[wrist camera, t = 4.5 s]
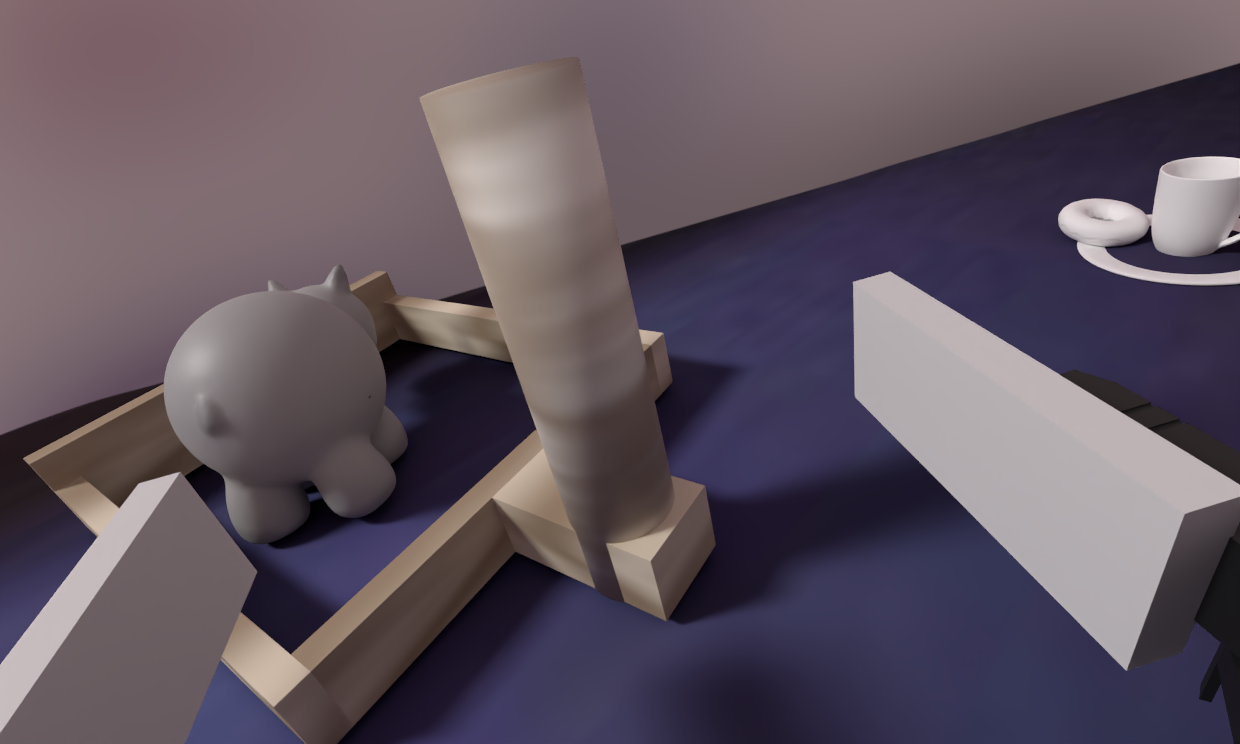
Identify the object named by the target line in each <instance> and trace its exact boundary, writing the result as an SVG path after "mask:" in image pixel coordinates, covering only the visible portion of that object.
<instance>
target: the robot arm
mask: <svg viewBox="0 0 1240 744" xmlns="http://www.w3.org/2000/svg"><path fill="white" fill-rule="evenodd" d="M853 297H854V368H855V397H856V398H857V399H858V400H859V401H860V402H861V403H862V404H863V405H864V406H865V408H866V409H867V410H868V411H869V412H870V413H871V414H872V415H873V416H874V417H875V418H876V419H877V420H878V421H879V422H880V423H881V424H882V425H883V426H884V427H885V428H886V429H887V430H888V431H889V432H890V433H891V434H892V435H893V436H894V437H895V438H896V439H897V440H898V441H899V442H900V443H901V444H902V445H903V446H904V447H905V448H906V449H907V450H908V451H909V452H910V453H911V454H912V455H913V456H914V457H915V458H916V459H917V460H918V461H919V462H920V463H921V464H922V465H923V466H924V467H925V468H926V469H927V470H928V471H929V472H930V473H931V474H932V475H933V476H934V477H935V478H936V479H937V480H938V481H939V482H940V483H941V484H942V485H943V486H944V487H945V488H946V489H947V490H948V491H949V492H950V493H951V494H952V495H953V496H954V497H955V498H956V499H957V500H958V501H959V502H960V503H961V504H962V505H963V506H964V507H965V508H966V509H967V510H968V511H969V512H970V513H971V514H972V515H973V516H974V517H975V519H976V520H977V521H978V522H979V523H980V524H981V525H982V526H983V527H984V528H985V529H986V530H987V531H988V532H989V533H990V534H991V535H992V536H993V537H994V538H995V539H996V540H997V541H998V542H999V543H1000V544H1001V545H1002V546H1003V547H1004V548H1005V549H1006V550H1007V551H1008V552H1009V553H1010V554H1011V555H1012V556H1013V557H1014V558H1015V559H1016V560H1017V561H1018V562H1019V563H1020V564H1021V565H1022V566H1023V567H1024V568H1025V569H1026V570H1027V571H1028V572H1029V573H1030V574H1031V575H1032V576H1033V577H1034V578H1035V579H1036V580H1037V581H1038V582H1039V583H1040V584H1041V585H1042V586H1043V587H1044V588H1045V589H1046V590H1047V591H1048V592H1049V593H1050V594H1051V595H1052V596H1053V597H1054V598H1055V599H1056V600H1057V601H1058V602H1059V603H1060V604H1061V605H1062V606H1063V607H1064V608H1065V609H1066V610H1067V611H1068V612H1069V613H1070V614H1071V615H1072V616H1073V617H1074V618H1075V619H1076V620H1077V621H1078V622H1079V623H1080V624H1081V625H1082V626H1083V627H1084V628H1085V630H1086V631H1087V632H1088V633H1089V634H1090V635H1091V636H1092V637H1093V638H1094V639H1095V640H1096V641H1097V642H1098V643H1099V644H1100V645H1101V646H1102V647H1103V648H1104V649H1105V650H1106V651H1107V652H1108V653H1109V654H1110V655H1111V656H1112V657H1113V658H1114V659H1115V660H1116V661H1117V662H1118V663H1119V664H1120V665H1121V666H1122V667H1123V668H1124V669H1125V670H1126V671H1127V670H1131V669H1134V668H1137V667H1140V666H1143V665H1146V664H1149V663H1152V662H1155V661H1158V660H1161V659H1164V658H1167V657H1170V656H1173V655H1177V654H1180V653H1182V652H1183V650H1184V647H1185V645H1186V643H1187V641H1188V638H1189V636H1190V634H1191V632H1192V629H1193V627H1194V625H1195V622H1197V623H1198V624H1199V625H1201V626H1202V627H1203V628H1204V629H1205V630H1207V631H1208V632H1209V633H1210V634H1211V635H1213V636H1214V637H1215V638H1216V639H1217V640H1219V641H1220V642H1221V644H1220V646H1219V648H1218V650H1217V652H1216V654H1215V656H1214V658H1213V660H1212V662H1211V664H1210V666H1209V668H1208V670H1207V672H1206V674H1205V677H1204V679H1203V681H1202V683H1201V688H1200V696H1199V699H1201V700H1205V701H1208V702H1212V700H1213V698H1214V696H1215V694H1216V692H1217V690H1218V688H1219V686H1220V684H1221V685H1222V690H1223V694H1224V699H1225V704H1226V708H1227V713H1228V717H1229V722H1230V727H1231V731H1232V736H1233V740H1234V744H1240V453H1239V452H1237V451H1236V450H1234V449H1232V448H1230V447H1229V446H1227V445H1225V444H1223V443H1222V442H1220V441H1218V440H1216V439H1214V438H1213V437H1211V436H1209V435H1207V434H1206V433H1204V432H1202V431H1200V430H1199V429H1197V428H1195V427H1193V426H1192V425H1190V424H1188V423H1185V424H1182V423H1181V422H1180V421H1179V418H1177V417H1176V416H1174V415H1172V414H1170V413H1169V412H1167V411H1165V410H1163V409H1162V408H1160V407H1158V406H1156V407H1152V406H1151V402H1149V401H1147V400H1146V399H1144V398H1142V397H1140V396H1139V395H1137V394H1135V393H1133V392H1132V391H1130V390H1128V389H1126V388H1125V387H1123V386H1121V385H1119V384H1118V383H1115V382H1112V381H1109V380H1106V379H1102V378H1099V377H1096V376H1093V375H1090V374H1086V373H1083V372H1080V371H1077V370H1073V371H1070V372H1066V373H1063V374H1057V373H1056V372H1054V371H1052V370H1051V369H1049V368H1048V367H1046V366H1044V365H1043V364H1041V363H1039V362H1038V361H1036V360H1034V359H1033V358H1031V357H1029V356H1028V355H1026V354H1025V353H1023V352H1021V351H1020V350H1018V349H1016V348H1015V347H1013V346H1011V345H1010V344H1008V343H1006V342H1005V341H1003V340H1002V339H1000V338H998V337H997V336H995V335H993V334H992V333H990V332H988V331H987V330H985V329H984V328H982V327H980V326H979V325H977V324H975V323H974V322H972V321H970V320H969V319H967V318H965V317H964V316H962V315H961V314H959V313H957V312H956V311H954V310H952V309H951V308H949V307H947V306H946V305H944V304H943V303H941V302H939V301H938V300H936V299H934V298H933V297H931V296H929V295H928V294H926V293H924V292H923V291H921V290H920V289H918V288H916V287H915V286H913V285H911V284H910V283H908V282H906V281H905V280H903V279H901V278H900V277H898V276H897V275H895V274H893V273H892V272H887V273H883V274H880V275H876V276H873V277H869V278H866V279H862V280H859V281H855V282H853ZM256 574H257V570H256V569H255V568H254V567H253V565H252V564H251V563H250V561H249V560H248V559H247V557H246V556H245V555H244V554H243V552H242V551H241V550H240V548H239V547H238V546H237V544H236V543H235V542H234V541H233V539H232V538H231V537H230V535H229V534H228V533H227V531H226V530H225V529H224V528H223V526H222V525H221V524H220V522H219V521H218V520H217V518H216V517H215V516H214V515H213V513H212V512H211V511H210V509H209V508H208V507H207V506H206V504H205V503H204V502H203V500H202V499H201V498H200V496H199V495H198V494H197V493H196V491H195V490H194V489H193V487H192V486H191V485H190V483H189V482H188V481H187V480H186V478H185V477H184V476H183V474H182V473H181V472H178V473H174V474H171V475H167V476H164V477H160V478H157V479H153V480H149V481H146V482H142V483H139V484H138V485H137V486H136V488H135V489H134V490H133V492H132V493H131V494H130V496H129V497H128V498H127V499H126V501H125V502H124V503H123V505H122V506H121V507H120V509H119V510H118V511H117V513H116V514H115V515H114V517H113V518H112V519H111V520H110V522H109V523H108V524H107V526H106V527H105V528H104V530H103V531H102V532H101V534H100V535H99V536H98V537H97V539H96V540H95V541H94V543H93V544H92V545H91V547H90V548H89V549H88V551H87V552H86V553H85V554H84V556H83V557H82V558H81V560H80V561H79V562H78V564H77V565H76V566H75V568H74V569H73V570H72V572H71V573H70V574H69V575H68V577H67V578H66V579H65V581H64V582H63V583H62V585H61V586H60V587H59V589H58V590H57V591H56V592H55V594H54V595H53V596H52V598H51V599H50V600H49V602H48V603H47V604H46V606H45V607H44V608H43V609H42V611H41V612H40V613H39V615H38V616H37V617H36V619H35V620H34V621H33V623H32V624H31V625H30V627H29V628H28V629H27V630H26V632H25V633H24V634H23V636H22V637H21V638H20V640H19V641H18V642H17V644H16V645H15V646H14V647H13V649H12V650H11V651H10V653H9V654H8V655H7V657H6V658H5V659H4V661H3V662H2V663H1V664H0V744H185V742H186V740H187V737H188V735H189V733H190V730H191V728H192V725H193V723H194V721H195V718H196V716H197V714H198V711H199V709H200V707H201V704H202V702H203V699H204V697H205V695H206V692H207V690H208V688H209V685H210V683H211V680H212V678H213V676H214V673H215V671H216V669H217V666H218V664H219V662H220V659H221V657H222V654H223V652H224V650H225V647H226V645H227V643H228V640H229V638H230V635H231V633H232V631H233V628H234V626H235V624H236V621H237V619H238V617H239V614H240V612H241V609H242V607H243V605H244V602H245V600H246V598H247V595H248V593H249V590H250V588H251V586H252V583H253V581H254V579H255V576H256Z"/></svg>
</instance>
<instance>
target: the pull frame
mask: <svg viewBox="0 0 1240 744" xmlns="http://www.w3.org/2000/svg"><path fill="white" fill-rule="evenodd" d="M420 101H421V104H422V107H423V110H424V113H425V115H426V118H427V121H428V123H429V127H430V129H431V132H432V135H433V138H434V141H435V144H436V146H437V149H438V152H439V155H440V158H441V160H442V163H443V166H444V169H445V172H446V175H447V177H448V180H449V183H450V186H451V189H452V192H453V194H454V197H455V200H456V203H457V206H458V209H459V211H460V214H461V217H462V220H463V223H464V226H465V228H466V231H467V234H468V237H469V240H470V243H471V245H472V248H473V251H474V254H475V256H476V259H477V262H478V265H479V268H480V271H481V273H482V276H483V279H484V282H485V285H486V288H487V291H488V293H489V296H490V299H491V302H492V305H493V308H494V309H492V308H485V307H478V306H471V305H464V304H457V303H450V302H443V301H436V300H429V299H421V298H415V297H408V296H401V295H397V294H396V292H395V289H394V288H393V285H392V283H391V280H390V278H389V276H388V274H387V272H381V271H377V272H374V273H373V274H371V275H369V276H367V277H365V278H363V279H361V280H359V281H357V282H355V283H354V284H352V285H350V290H351V292H352V294H353V295H354V296H356V297H357V298H358V299H359V300H361V301H362V302H363V303H364V304H365V306H366V307H367V308H368V310H369V311H370V313H371V315H372V318H373V321H374V325H375V332H376V335H377V344H376V347H377V350H378V352H380V351H382V350H383V349H385V348H387V347H388V346H390V345H391V344H393V343H394V342H396V341H398V340H399V339H403V340H408V341H412V342H417V343H422V344H427V345H431V346H436V347H441V348H445V349H450V350H455V351H460V352H464V353H469V354H474V355H479V356H483V357H488V358H493V359H497V360H502V361H507V362H512V363H513V364H514V367H515V370H516V373H517V375H518V378H519V381H520V384H521V387H522V389H523V392H524V395H525V398H526V401H527V404H528V406H529V409H530V412H531V415H532V418H533V421H534V423H535V426H536V430H535V431H534V432H533V433H531V434H530V435H529V436H528V437H527V438H526V439H525V440H524V441H523V442H522V443H521V444H519V445H518V446H517V447H516V448H515V449H514V450H513V451H512V452H511V453H510V454H509V455H507V456H506V457H505V458H504V459H503V460H502V461H501V462H500V463H499V464H498V465H497V466H495V467H494V468H493V469H492V470H491V471H490V472H489V473H488V474H487V475H486V476H485V477H483V478H482V479H481V480H480V481H479V482H478V483H477V484H476V485H475V486H474V487H473V488H472V489H470V490H469V491H468V492H467V493H466V494H465V495H464V496H463V497H462V498H461V499H460V500H458V501H457V502H456V503H455V504H454V505H453V506H452V507H451V508H450V509H449V510H448V511H446V512H445V513H444V514H443V515H442V516H441V517H440V518H439V519H438V520H437V521H436V522H434V523H433V524H432V525H431V526H430V527H429V528H428V529H427V530H426V531H425V532H424V533H422V534H421V535H420V536H419V537H418V538H417V539H416V540H415V541H414V542H413V543H412V544H411V545H409V546H408V547H407V548H406V549H405V550H404V551H403V552H402V553H401V554H400V555H399V556H397V557H396V558H395V559H394V560H393V561H392V562H391V563H390V564H389V565H388V566H387V567H385V568H384V569H383V570H382V571H381V572H380V573H379V574H378V575H377V576H376V577H375V578H373V579H372V580H371V581H370V582H369V583H368V584H367V585H366V586H365V587H364V588H363V589H362V590H360V591H359V592H358V593H357V594H356V595H355V596H354V597H353V598H352V599H351V600H350V601H348V602H347V603H346V604H345V605H344V606H343V607H342V608H341V609H340V610H339V611H338V612H336V613H335V614H334V615H333V616H332V617H331V618H330V619H329V620H328V621H327V622H326V623H324V624H323V625H322V626H321V627H320V628H319V629H318V630H317V631H316V632H315V633H314V634H312V635H311V636H310V637H309V638H308V639H307V640H306V641H305V642H304V643H303V644H302V645H301V646H299V647H298V648H297V649H296V650H295V651H294V652H293V653H292V654H291V655H290V654H289V653H288V652H287V651H286V650H285V649H283V648H282V647H281V646H280V645H279V644H278V643H276V642H275V641H274V640H273V639H272V638H270V637H269V636H268V635H267V634H266V633H265V632H263V631H262V630H261V629H260V628H259V627H258V626H256V625H255V624H254V623H253V622H252V621H251V620H249V619H248V618H247V617H246V616H245V615H244V614H242V613H241V612H240V614H239V617H238V619H237V621H236V624H235V626H234V628H233V631H232V633H231V635H230V638H229V640H228V643H227V645H226V647H225V650H224V652H223V654H222V657H221V659H220V660H221V661H222V662H223V663H224V664H225V665H226V666H227V667H228V668H229V669H230V670H231V671H232V672H233V673H234V674H235V675H236V676H237V677H238V678H239V679H240V680H242V681H243V682H244V683H245V684H246V685H247V686H248V687H249V688H250V689H251V690H252V691H253V692H254V693H255V694H256V695H257V696H258V697H259V698H260V699H261V700H262V701H263V702H264V703H265V704H266V705H267V706H268V707H269V708H270V709H271V710H272V711H273V712H274V713H275V714H276V715H277V716H278V717H279V718H280V719H281V720H282V721H283V722H284V723H285V724H286V725H287V726H288V727H289V728H290V729H291V730H292V731H293V732H294V733H295V734H296V735H297V736H298V737H299V738H300V739H301V740H302V741H303V742H304V743H305V744H337V743H338V742H339V741H340V740H341V739H342V738H343V737H344V736H345V735H346V734H347V733H348V731H349V730H350V729H351V728H352V727H353V726H354V725H355V724H356V723H357V722H358V721H359V720H360V719H361V717H362V716H363V715H364V714H365V713H366V712H367V711H368V710H369V709H370V708H371V707H372V706H373V704H374V703H375V702H376V701H377V700H378V699H379V698H380V697H381V696H382V695H383V694H384V693H385V692H386V690H387V689H388V688H389V687H390V686H391V685H392V684H393V683H394V682H395V681H396V680H397V679H398V678H399V676H400V675H401V674H402V673H403V672H404V671H405V670H406V669H407V668H408V667H409V666H410V665H411V664H412V662H413V661H414V660H415V659H416V658H417V657H418V656H419V655H420V654H421V653H422V652H423V651H424V650H425V648H426V647H427V646H428V645H429V644H430V643H431V642H432V641H433V640H434V639H435V638H436V637H437V635H438V634H439V633H440V632H441V631H442V630H443V629H444V628H445V627H446V626H447V625H448V624H449V623H450V621H451V620H452V619H453V618H454V617H455V616H456V615H457V614H458V613H459V612H460V611H461V610H462V609H463V607H464V606H465V605H466V604H467V603H468V602H469V601H470V600H471V599H472V598H473V597H474V596H475V595H476V593H477V592H478V591H479V590H480V589H481V588H482V587H483V586H484V585H485V584H486V583H487V582H488V580H489V579H490V578H491V577H492V576H493V575H494V574H495V573H496V572H497V571H498V570H499V569H500V568H501V566H502V565H503V564H504V563H505V562H506V561H507V560H508V559H509V558H510V557H511V556H512V555H513V554H514V552H518V553H520V554H522V555H524V556H526V557H528V558H531V559H533V560H535V561H537V562H539V563H541V564H544V565H546V566H548V567H550V568H552V569H554V570H557V571H559V572H561V573H563V574H565V575H567V576H570V577H572V578H574V579H576V580H578V581H580V582H583V583H585V584H587V585H589V586H591V587H593V588H596V590H597V591H598V592H600V593H601V594H602V595H604V596H606V597H608V598H610V599H613V600H616V601H621V602H626V603H628V604H630V605H632V606H635V607H637V608H639V609H641V610H643V611H645V612H648V613H650V614H652V615H654V616H656V617H658V618H661V619H663V620H665V621H667V620H668V618H669V617H670V615H671V614H672V612H673V611H674V609H675V608H676V606H677V604H678V603H679V601H680V600H681V598H682V597H683V595H684V594H685V592H686V590H687V589H688V587H689V586H690V584H691V583H692V581H693V580H694V578H695V577H696V575H697V573H698V572H699V570H700V569H701V567H702V566H703V564H704V563H705V561H706V559H707V558H708V556H709V555H710V553H711V552H712V550H713V549H714V547H715V546H716V543H715V537H714V532H713V526H712V521H711V516H710V510H709V505H708V499H707V494H706V488H705V486H704V485H701V484H697V483H694V482H691V481H687V480H684V479H681V478H677V477H674V476H671V473H670V469H669V464H668V460H667V455H666V451H665V446H664V442H663V437H662V433H661V428H660V423H659V419H658V414H657V410H656V405H655V400H656V399H657V398H658V397H659V396H660V395H661V394H662V393H663V392H664V391H665V390H666V389H667V387H668V386H669V385H670V384H671V383H672V382H673V380H672V374H671V369H670V364H669V359H668V354H667V349H666V344H665V339H664V334H663V333H659V332H652V331H645V330H639V328H638V324H637V319H636V314H635V310H634V305H633V301H632V296H631V292H630V287H629V283H628V278H627V274H626V269H625V265H624V260H623V255H622V251H621V246H620V242H619V237H618V233H617V228H616V224H615V219H614V215H613V210H612V205H611V201H610V197H609V192H608V187H607V183H606V178H605V174H604V169H603V165H602V161H601V156H600V152H599V147H598V142H597V137H596V133H595V129H594V124H593V119H592V115H591V110H590V106H589V101H588V96H587V92H586V87H585V83H584V78H583V74H582V70H581V65H580V60H579V58H578V57H571V58H563V59H556V60H551V61H546V62H541V63H536V64H531V65H527V66H522V67H517V68H513V69H509V70H505V71H501V72H497V73H493V74H489V75H486V76H482V77H478V78H475V79H471V80H468V81H464V82H461V83H458V84H454V85H451V86H448V87H445V88H442V89H439V90H436V91H433V92H431V93H428V94H426V95H424V96H422V97H420ZM23 459H24V460H25V461H26V462H27V463H28V464H29V465H30V466H31V467H32V468H33V470H34V471H35V472H36V473H37V474H38V475H39V476H40V477H41V478H42V479H43V480H44V481H45V482H46V483H47V485H48V486H49V487H50V488H51V489H52V490H53V491H54V492H55V493H56V494H57V495H58V496H59V497H60V498H61V499H62V501H63V502H64V503H65V504H66V505H67V506H68V507H69V508H70V509H71V510H72V511H73V512H74V513H75V514H76V516H77V517H78V518H79V519H80V520H81V521H82V522H83V523H84V524H85V525H86V526H87V527H88V528H89V529H90V530H91V531H92V532H93V533H94V534H95V535H96V536H97V537H98V536H99V535H100V534H101V532H102V531H103V530H104V528H105V527H106V526H107V524H108V523H109V522H110V520H111V519H112V518H113V517H114V515H115V514H116V513H117V511H118V510H119V509H120V507H121V506H122V505H123V503H124V502H125V501H126V499H127V498H128V497H129V496H130V494H131V493H132V492H133V490H134V489H135V488H136V486H137V485H138V484H139V483H142V482H146V481H149V480H153V479H157V478H160V477H164V476H167V475H171V474H174V473H178V472H181V473H182V474H183V476H185V475H187V474H188V473H190V472H191V471H193V470H194V469H196V468H198V467H199V466H201V465H202V464H204V463H202V462H201V461H199V460H198V459H197V458H196V457H195V456H194V455H193V454H192V453H191V452H190V451H189V450H188V449H187V448H186V447H185V446H184V445H183V443H182V442H181V441H180V439H179V438H178V436H177V435H176V433H175V431H174V429H173V427H172V425H171V423H170V420H169V417H168V415H167V411H166V406H165V401H164V384H163V385H161V386H159V387H157V388H155V389H153V390H151V391H150V392H148V393H146V394H144V395H142V396H140V397H138V398H136V399H134V400H133V401H131V402H129V403H127V404H125V405H123V406H121V407H119V408H117V409H116V410H114V411H112V412H110V413H108V414H106V415H104V416H102V417H100V418H99V419H97V420H95V421H93V422H91V423H89V424H87V425H85V426H83V427H82V428H80V429H78V430H76V431H74V432H72V433H70V434H68V435H66V436H65V437H63V438H61V439H59V440H57V441H55V442H53V443H51V444H49V445H48V446H46V447H44V448H42V449H40V450H38V451H36V452H34V453H32V454H31V455H29V456H27V457H25V458H23Z"/></svg>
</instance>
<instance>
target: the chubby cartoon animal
mask: <svg viewBox="0 0 1240 744" xmlns="http://www.w3.org/2000/svg"><path fill="white" fill-rule="evenodd" d="M376 344H377V335H376V332H375V325H374V321H373V318H372V315H371V313H370V311H369V310H368V308H367V307H366V306H365V304H364V303H363V302H362V301H361V300H359V299H358V298H357V297H356V296H354V295H353V294H352V292H351V290H350V286H349V282H348V279H347V275H346V273H345V271H344V269H343V267H342V266H341V265H336V266H335V267H334V268H333V269H332V271H331V272H330V274H329V276H328V277H327V279H326V281H325V282H324V283H323V284H321V285H312V286H307V287H304V288H301V289H299V290H294V291H293V290H289V289H288V288H286V287H285V286H283V285H282V284H280V283H279V282H277V281H275V280H269V282H268V291H266V292H257V293H252V294H246V295H243V296H240V297H236V298H233V299H231V300H229V301H226V302H224V303H221V304H219V305H218V306H216V307H214V308H213V309H211V310H209V311H208V312H206V313H205V314H203V315H202V316H201V317H200V318H198V319H197V320H196V321H195V322H194V323H193V324H192V325H191V326H190V327H189V328H188V329H187V330H186V331H185V333H184V334H183V335H182V336H181V338H180V339H179V341H178V342H177V344H176V346H175V348H174V350H173V351H172V354H171V356H170V359H169V361H168V364H167V368H166V372H165V378H164V401H165V406H166V411H167V415H168V417H169V420H170V423H171V425H172V427H173V429H174V431H175V433H176V435H177V436H178V438H179V439H180V441H181V442H182V443H183V445H184V446H185V447H186V448H187V449H188V450H189V451H190V452H191V453H192V454H193V455H194V456H195V457H196V458H197V459H198V460H199V461H201V462H202V463H204V464H205V465H206V466H208V467H210V468H211V469H213V470H215V471H217V472H218V473H220V474H221V475H222V476H223V478H224V480H225V488H226V503H227V508H228V513H229V516H230V519H231V521H232V524H233V526H234V527H235V529H236V531H237V532H238V533H239V535H240V536H241V537H242V538H244V539H245V540H246V541H248V542H251V543H254V544H266V543H270V542H273V541H276V540H278V539H281V538H283V537H285V536H287V535H289V534H290V533H292V532H294V531H295V530H296V529H298V528H299V527H300V526H301V525H303V524H304V523H305V521H306V520H307V519H308V517H309V514H310V502H309V498H308V496H307V494H306V492H305V490H304V489H307V488H309V487H311V486H313V485H315V486H316V487H317V489H318V491H319V492H320V494H321V496H322V498H323V499H324V501H325V502H326V503H327V505H328V506H329V507H330V508H331V510H332V511H334V512H335V513H336V514H338V515H340V516H343V517H346V518H358V517H362V516H365V515H368V514H370V513H371V512H373V511H374V510H376V509H377V508H378V507H380V506H381V505H382V504H383V503H384V502H385V501H386V500H387V499H388V497H389V496H390V495H391V493H392V492H393V490H394V488H395V485H396V476H395V473H394V470H393V468H392V467H391V465H390V464H391V463H393V462H394V461H396V460H397V459H398V458H399V457H400V456H401V455H402V454H403V453H404V452H405V450H406V448H407V445H408V438H407V434H406V432H405V429H404V427H403V426H402V424H401V422H400V421H399V420H398V418H397V417H396V416H395V415H394V414H393V413H392V412H391V411H390V410H389V409H388V408H387V407H386V406H385V405H384V404H385V397H386V376H385V370H384V366H383V362H382V359H381V356H380V354H379V352H378V350H377V347H376Z"/></svg>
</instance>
